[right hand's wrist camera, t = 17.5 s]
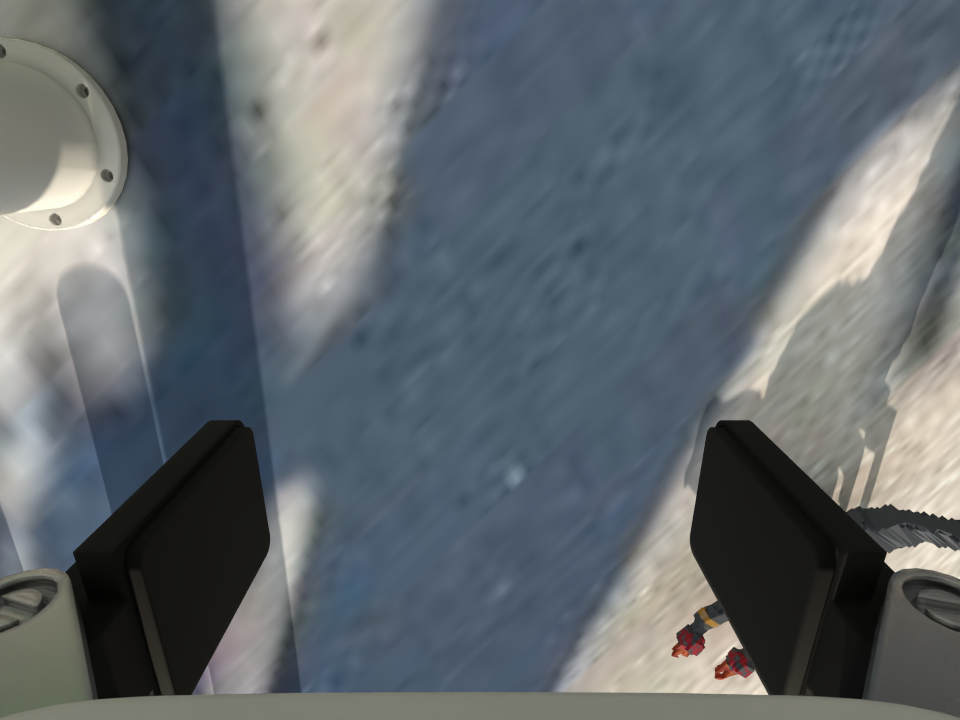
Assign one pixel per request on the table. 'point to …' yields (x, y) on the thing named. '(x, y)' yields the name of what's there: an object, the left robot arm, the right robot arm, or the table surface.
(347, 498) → the table surface
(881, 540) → the toy
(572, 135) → the table surface
